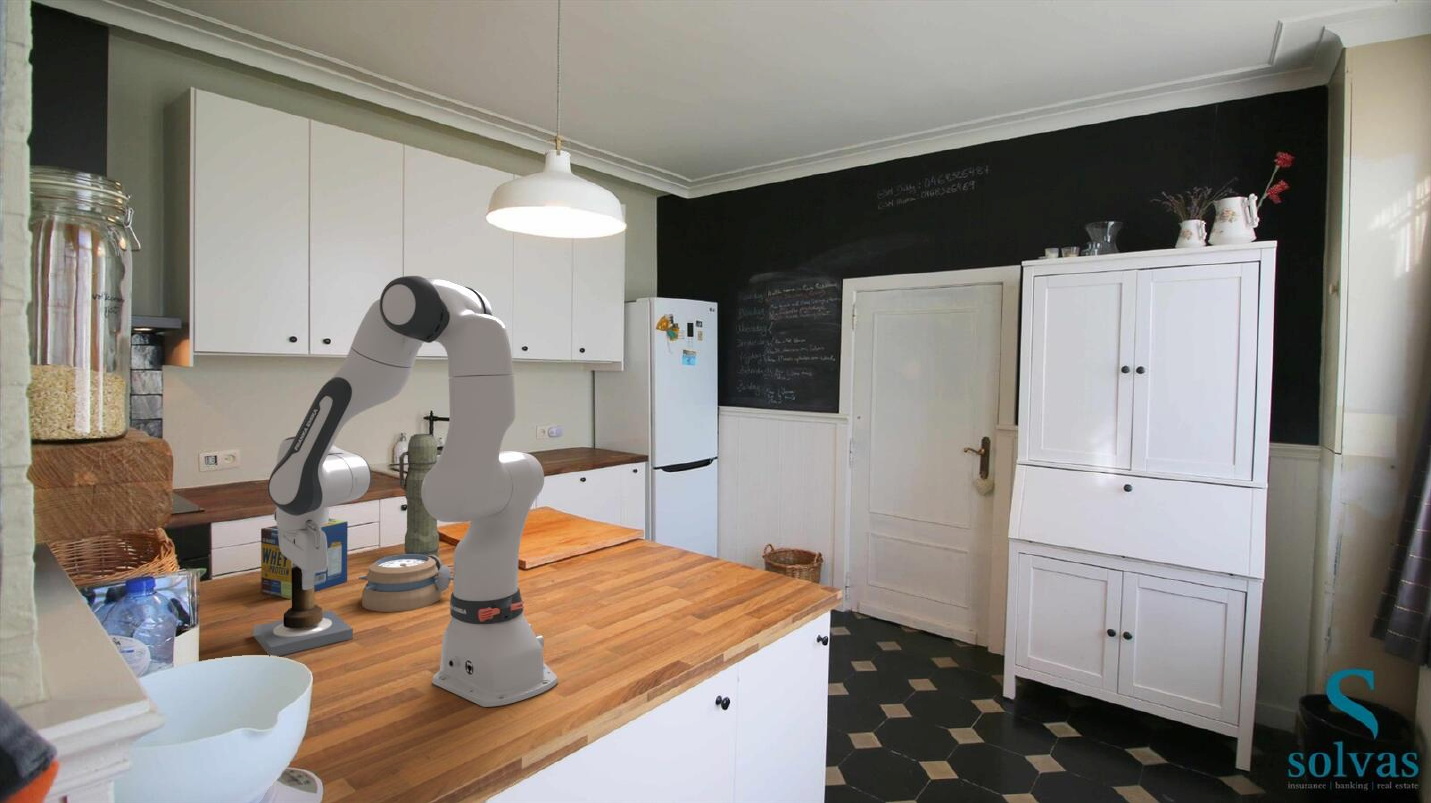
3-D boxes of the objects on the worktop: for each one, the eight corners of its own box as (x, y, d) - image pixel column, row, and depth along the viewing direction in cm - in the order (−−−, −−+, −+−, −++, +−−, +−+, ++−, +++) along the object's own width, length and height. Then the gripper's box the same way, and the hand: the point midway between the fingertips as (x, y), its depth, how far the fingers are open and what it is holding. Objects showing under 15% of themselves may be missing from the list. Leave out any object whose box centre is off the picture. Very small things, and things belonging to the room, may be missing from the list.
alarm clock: (355, 556, 163) (457, 544, 176) (355, 595, 163) (457, 580, 176) (367, 575, 149) (477, 560, 162) (367, 617, 149) (476, 599, 162)
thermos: (395, 557, 195) (395, 434, 194) (438, 551, 202) (439, 432, 201) (403, 565, 188) (404, 436, 187) (448, 558, 195) (448, 435, 194)
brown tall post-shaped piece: (317, 614, 142) (317, 527, 141) (326, 623, 137) (326, 533, 136) (280, 622, 137) (279, 532, 136) (288, 631, 133) (287, 538, 132)
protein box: (259, 593, 162) (259, 528, 162) (318, 576, 177) (318, 516, 176) (291, 600, 159) (291, 533, 158) (348, 581, 173) (349, 520, 172)
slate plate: (352, 638, 137) (352, 627, 137) (270, 658, 127) (270, 646, 127) (331, 619, 147) (331, 609, 147) (253, 636, 137) (253, 625, 137)
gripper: (337, 523, 131) (337, 595, 132) (306, 506, 146) (306, 571, 146) (299, 528, 127) (299, 602, 127) (271, 510, 141) (272, 577, 142)
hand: (303, 585), depth 137 cm, fingers closed on brown tall post-shaped piece, 4 cm apart
